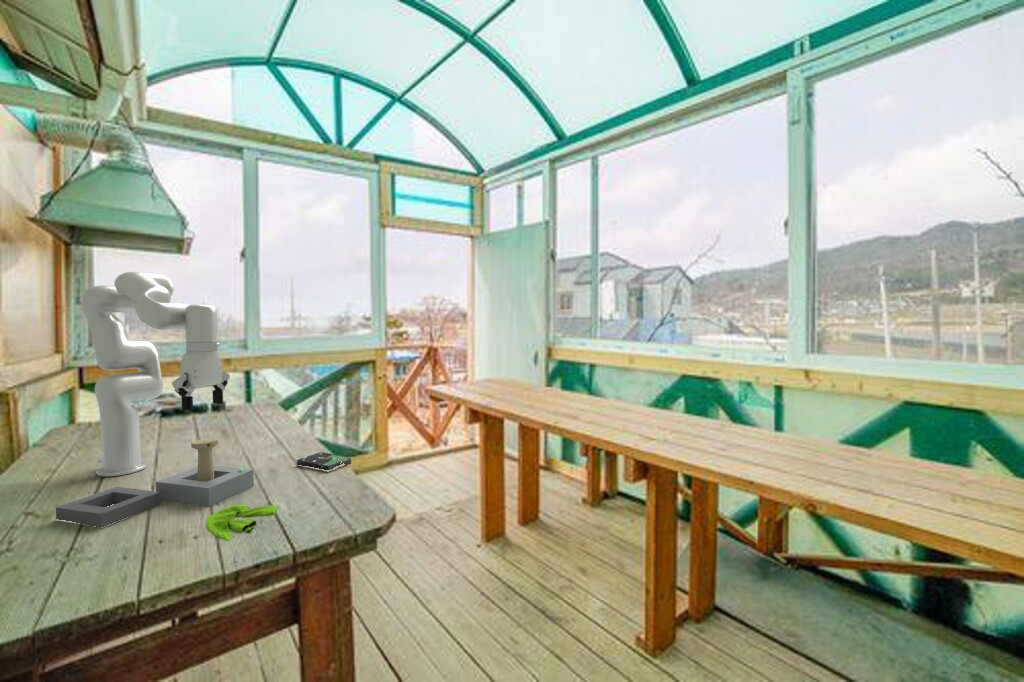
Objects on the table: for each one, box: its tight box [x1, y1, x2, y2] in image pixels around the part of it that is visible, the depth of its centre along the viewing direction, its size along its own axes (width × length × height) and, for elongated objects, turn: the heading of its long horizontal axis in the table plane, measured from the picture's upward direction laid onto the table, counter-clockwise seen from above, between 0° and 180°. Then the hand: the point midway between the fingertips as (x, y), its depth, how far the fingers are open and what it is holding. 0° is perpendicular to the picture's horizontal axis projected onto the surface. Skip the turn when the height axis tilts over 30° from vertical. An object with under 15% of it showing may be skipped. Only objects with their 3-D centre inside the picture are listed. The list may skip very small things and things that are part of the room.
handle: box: [190, 437, 219, 482], centre depth 131 cm, size 5×6×15 cm
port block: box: [155, 465, 255, 507], centre depth 131 cm, size 18×15×6 cm
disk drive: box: [296, 451, 352, 470], centre depth 156 cm, size 10×3×15 cm
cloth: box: [205, 504, 278, 542], centre depth 113 cm, size 20×22×2 cm
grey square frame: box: [55, 486, 161, 528], centre depth 117 cm, size 15×14×4 cm
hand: (203, 406), depth 132 cm, fingers open, 9 cm apart
